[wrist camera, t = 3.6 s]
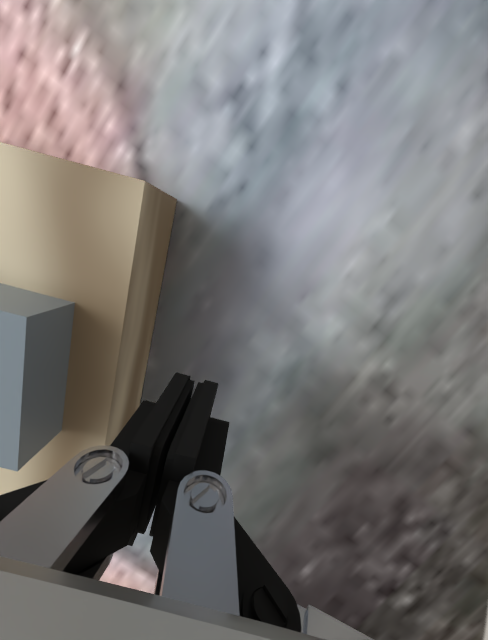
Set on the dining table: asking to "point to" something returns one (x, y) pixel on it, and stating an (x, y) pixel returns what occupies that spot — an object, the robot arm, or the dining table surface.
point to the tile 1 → (31, 371)
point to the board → (86, 286)
